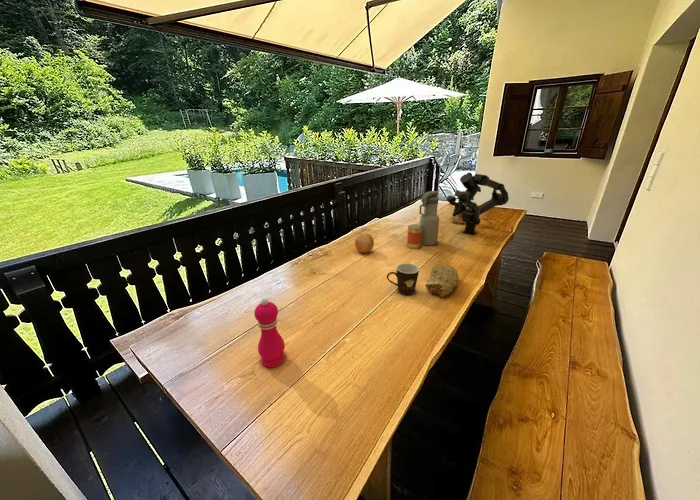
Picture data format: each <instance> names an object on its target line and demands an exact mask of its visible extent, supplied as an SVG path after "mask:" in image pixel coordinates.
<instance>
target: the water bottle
mask: <svg viewBox="0 0 700 500" xmlns="http://www.w3.org/2000/svg"><path fill="white" fill-rule="evenodd" d="M438 194H439V191H438V190H431V191H430V190H429V191H426V192H424V193H423V194H422V195H421V200H420V202H421V204H420V205H419V211H418V213H419V215H421V216H420V218H419V219H420V220H419V225H421V226H422V238H421V245H424V246H435V245H436V244H437V243H438V236H439V226H440V216H439V215H438V205H439V199H440V198H439V197H438ZM422 207H423V213H422Z"/></svg>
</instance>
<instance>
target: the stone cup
mask: <svg viewBox="0 0 700 500" xmlns="http://www.w3.org/2000/svg"><path fill="white" fill-rule="evenodd" d="M470 202H473V200H471V201H470ZM462 213H463V212H462ZM462 213H460V214H458V215H456V216H453V215H452V218H451V219H450V221H451V222H453V223H457V224H466V222H463V220H462Z"/></svg>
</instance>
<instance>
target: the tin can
mask: <svg viewBox="0 0 700 500" xmlns="http://www.w3.org/2000/svg"><path fill="white" fill-rule="evenodd" d="M406 236H407V237H406V247H407V248H409V249H414V250H415V249H420V248H421V246H422V244H421V238H422V226H421V225H420V224H415V223H412V224H408V225H407V235H406Z"/></svg>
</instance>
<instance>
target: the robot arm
mask: <svg viewBox="0 0 700 500" xmlns="http://www.w3.org/2000/svg"><path fill="white" fill-rule="evenodd" d="M459 181H460V183H461V184H462V186H463V187H464V188H465V191H464V190H463V191H462V190H458V189H456V190H455V191H454V194H453V195H448V196H447V197H446V200H447V202H448V204H449V205H451V206H454V208H453V212H452V217H453V216H456V215H458V214H460V213H462V212H463V213H462V220H463V222H466V223H465V225H464V230H463V231H462V234H466V235H473V236H475V234H477V230H476V227H477V225H478V226H479V225H480V224H481V219H480V217H481V215H482V214H484V213H486V212H488V211H489V210H491V209H493V208H494V207H498V206H505V205H506V204H507V203H508V202H509V200H510V199H509V192H508V191H507V189H506V188H505V184H504V183H500V182H498V181H495V180H492V179H491V178H490V176H488V175H487V174H481V173H475V174H474V175H473V173H472V172H469V171H468V172H467V173H465V174H463V175H462V176H460V178H459ZM481 186H483V187H487V188H491V189H492V192H491V198H490V199H489V200H487V201H485V202H483V203H482V204H480V205H478V204H477V203H476V202H475V201H474V200H475V196H476V195H477V193H481V192H482V189H481ZM497 191H499V192H497ZM456 197H457V198H456ZM470 201H472V202H470ZM473 201H474V202H473Z"/></svg>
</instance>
